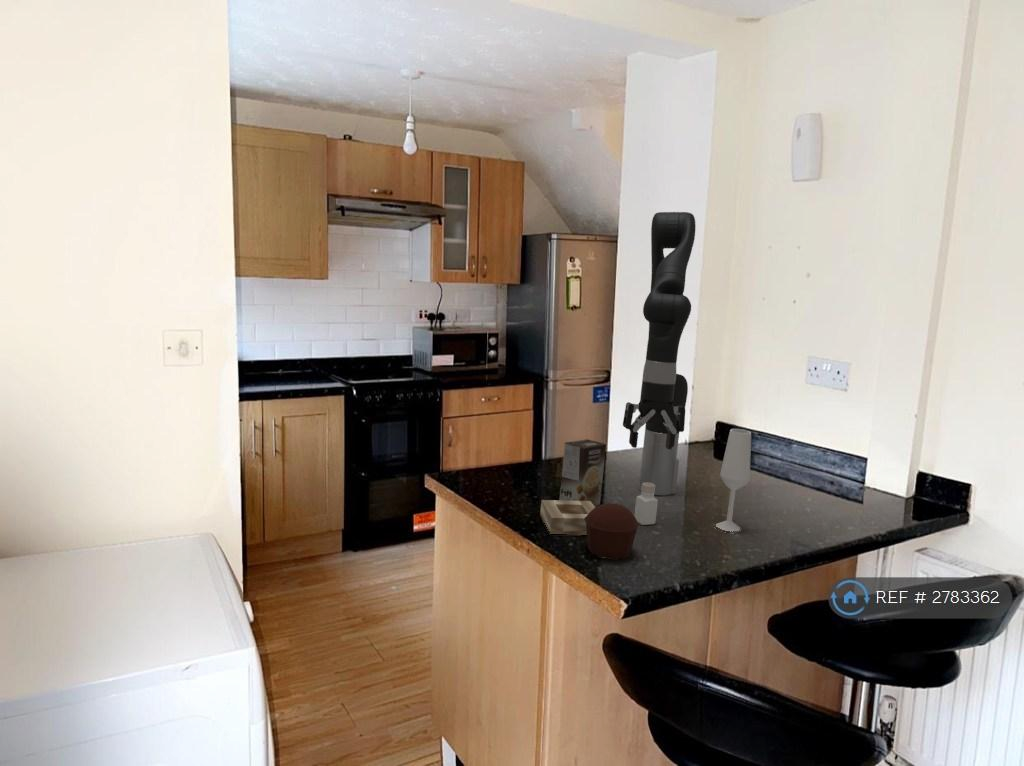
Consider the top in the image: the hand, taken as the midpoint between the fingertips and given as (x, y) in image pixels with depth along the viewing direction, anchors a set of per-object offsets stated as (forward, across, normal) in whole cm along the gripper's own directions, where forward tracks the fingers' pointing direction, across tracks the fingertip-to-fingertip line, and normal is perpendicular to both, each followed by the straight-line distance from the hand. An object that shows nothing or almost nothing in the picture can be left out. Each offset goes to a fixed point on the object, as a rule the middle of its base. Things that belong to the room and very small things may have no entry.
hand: (650, 447), depth 164 cm
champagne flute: (+18, -21, +3) cm, 28 cm away
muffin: (+19, +13, +18) cm, 29 cm away
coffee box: (+19, +13, -12) cm, 25 cm away
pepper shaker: (+19, -1, 0) cm, 19 cm away
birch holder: (+19, +18, +3) cm, 26 cm away
